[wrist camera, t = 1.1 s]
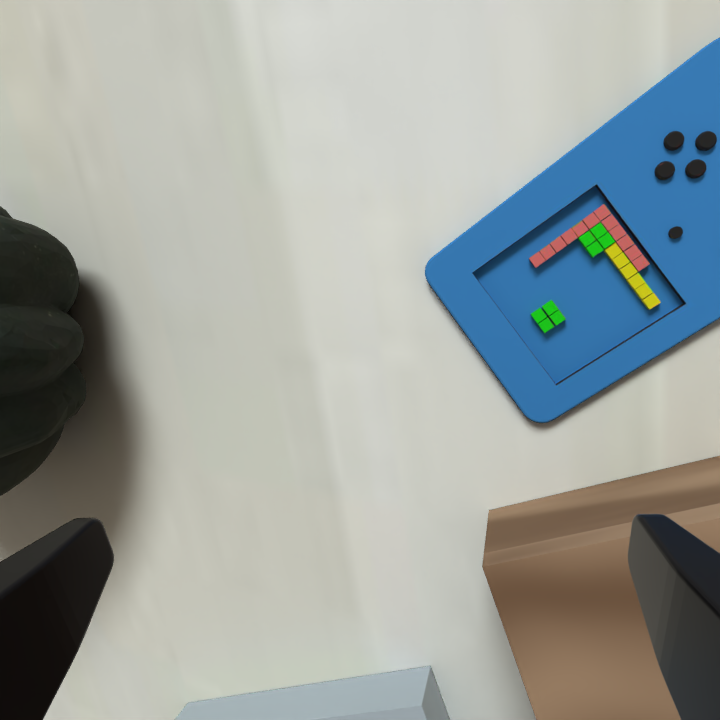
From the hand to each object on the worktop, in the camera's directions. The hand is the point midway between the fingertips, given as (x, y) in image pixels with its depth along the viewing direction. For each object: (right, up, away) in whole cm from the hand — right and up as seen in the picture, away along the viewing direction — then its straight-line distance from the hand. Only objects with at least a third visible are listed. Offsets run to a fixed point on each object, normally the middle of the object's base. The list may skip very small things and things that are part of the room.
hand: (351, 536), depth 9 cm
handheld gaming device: (+11, +8, +12) cm, 18 cm away
